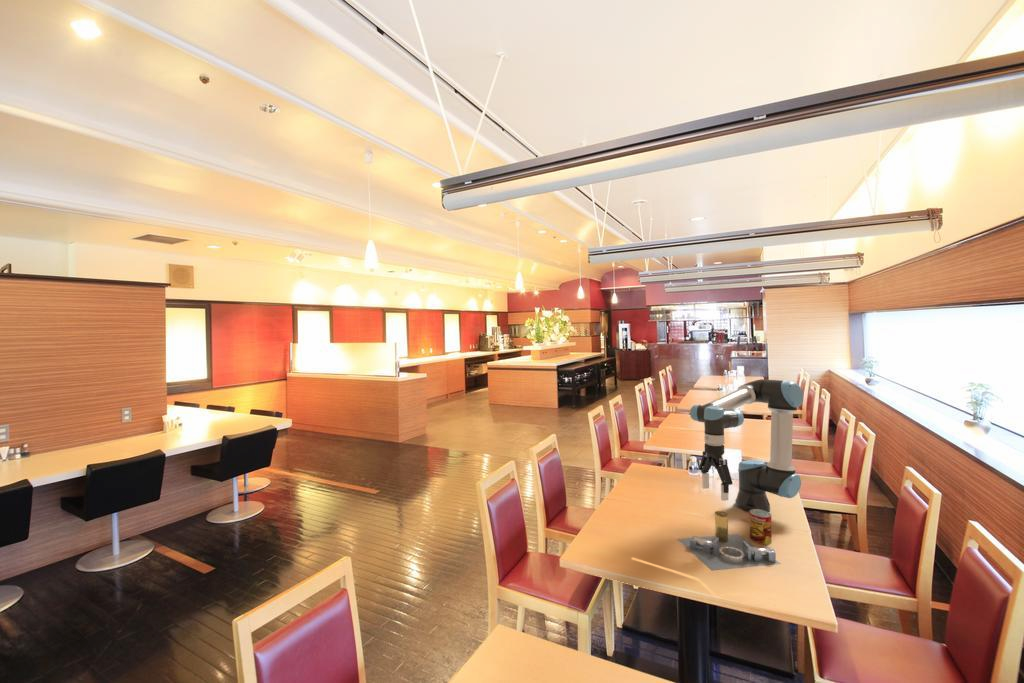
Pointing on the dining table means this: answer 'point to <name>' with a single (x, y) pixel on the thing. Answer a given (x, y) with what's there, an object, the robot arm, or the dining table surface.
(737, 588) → the dining table surface
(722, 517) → the cylinder
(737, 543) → the base board
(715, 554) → the shaft
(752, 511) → the canned food
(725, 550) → the socket
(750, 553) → the shaft
